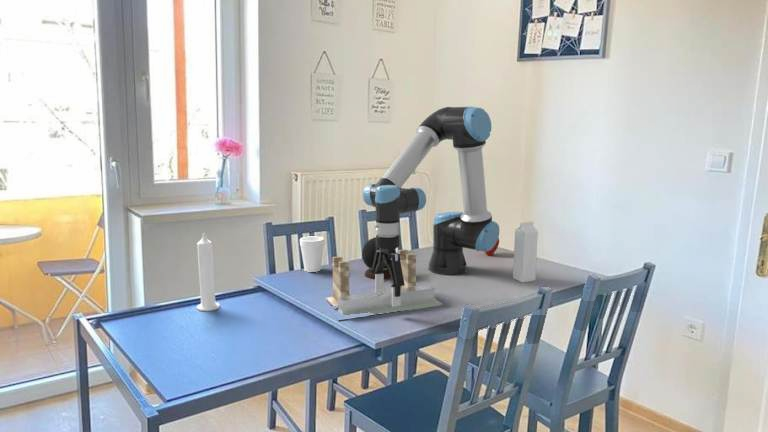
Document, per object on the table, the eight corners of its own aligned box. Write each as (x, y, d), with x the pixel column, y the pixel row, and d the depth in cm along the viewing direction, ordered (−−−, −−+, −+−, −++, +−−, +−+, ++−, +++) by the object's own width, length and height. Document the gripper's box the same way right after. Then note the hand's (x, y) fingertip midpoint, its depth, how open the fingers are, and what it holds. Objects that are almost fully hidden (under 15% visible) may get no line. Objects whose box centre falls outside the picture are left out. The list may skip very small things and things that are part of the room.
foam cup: (320, 274, 222) (319, 242, 220) (297, 273, 224) (296, 240, 222) (327, 268, 231) (326, 236, 229) (305, 266, 233) (304, 235, 231)
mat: (431, 297, 195) (431, 296, 195) (442, 305, 188) (442, 303, 188) (330, 312, 181) (330, 311, 181) (338, 321, 174) (338, 319, 174)
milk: (535, 280, 214) (538, 223, 210) (522, 282, 212) (525, 224, 208) (525, 276, 220) (528, 220, 215) (512, 278, 217) (515, 221, 213)
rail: (428, 298, 192) (429, 284, 191) (434, 302, 189) (434, 288, 188) (338, 312, 180) (338, 297, 179) (342, 316, 176) (342, 300, 176)
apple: (476, 252, 255) (477, 229, 253) (495, 252, 256) (496, 228, 254) (482, 257, 247) (482, 233, 245) (501, 257, 248) (502, 232, 246)
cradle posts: (411, 288, 205) (411, 248, 202) (422, 296, 197) (423, 254, 194) (325, 300, 192) (324, 257, 190) (333, 309, 184) (333, 264, 181)
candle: (199, 304, 189) (195, 230, 184) (221, 303, 190) (217, 229, 185) (194, 311, 182) (189, 235, 177) (217, 311, 183) (212, 234, 178)
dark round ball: (367, 281, 213) (367, 242, 211) (358, 272, 226) (357, 234, 223) (401, 278, 218) (401, 239, 215) (389, 269, 230) (389, 232, 227)
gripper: (362, 228, 190) (362, 289, 194) (392, 244, 167) (392, 313, 171) (383, 226, 193) (383, 286, 197) (415, 242, 170) (415, 310, 174)
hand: (387, 299), depth 184 cm, fingers open, 13 cm apart
